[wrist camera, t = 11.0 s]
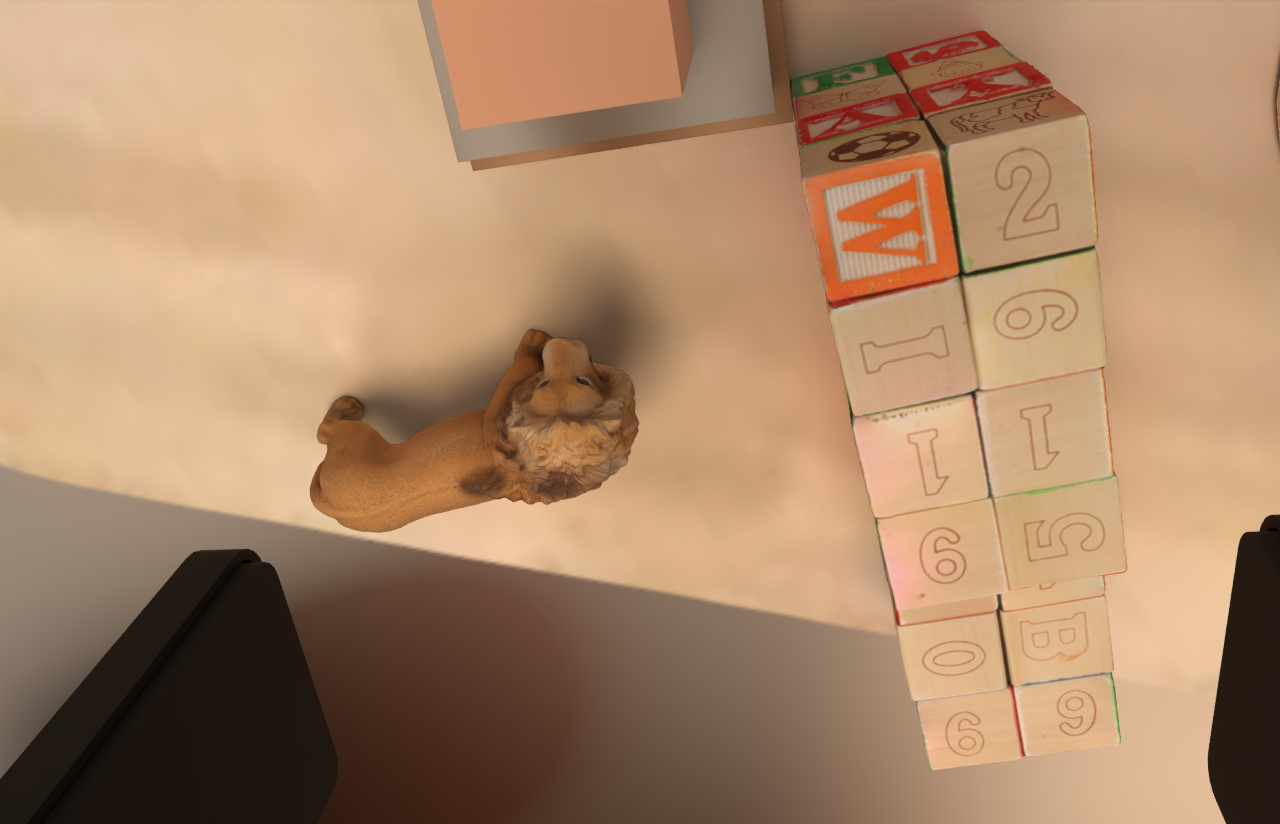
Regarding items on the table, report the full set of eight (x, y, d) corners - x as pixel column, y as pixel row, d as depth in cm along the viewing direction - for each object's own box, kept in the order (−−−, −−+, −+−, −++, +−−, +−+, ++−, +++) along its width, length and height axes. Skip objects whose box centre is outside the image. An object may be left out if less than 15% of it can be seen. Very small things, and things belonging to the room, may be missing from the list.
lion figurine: (610, 248, 38) (575, 355, 30) (684, 370, 40) (669, 501, 32) (288, 420, 43) (184, 552, 35) (369, 523, 45) (287, 670, 37)
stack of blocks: (1051, 577, 43) (1153, 825, 32) (890, 602, 44) (937, 850, 34) (984, 23, 34) (1094, 110, 23) (784, 73, 35) (799, 179, 24)
